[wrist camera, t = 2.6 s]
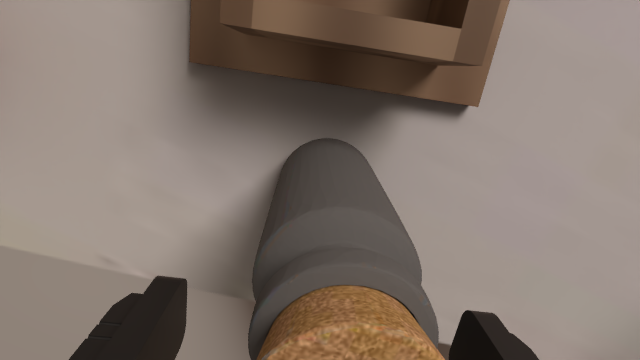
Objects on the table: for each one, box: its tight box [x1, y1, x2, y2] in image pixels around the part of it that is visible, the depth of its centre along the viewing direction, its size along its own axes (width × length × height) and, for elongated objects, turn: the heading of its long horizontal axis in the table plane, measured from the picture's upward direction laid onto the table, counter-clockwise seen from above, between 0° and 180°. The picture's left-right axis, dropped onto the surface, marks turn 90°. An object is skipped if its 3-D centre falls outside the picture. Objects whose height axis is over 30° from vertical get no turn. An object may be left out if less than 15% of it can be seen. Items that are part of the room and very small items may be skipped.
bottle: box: [248, 139, 445, 360], centre depth 14 cm, size 6×6×15 cm
